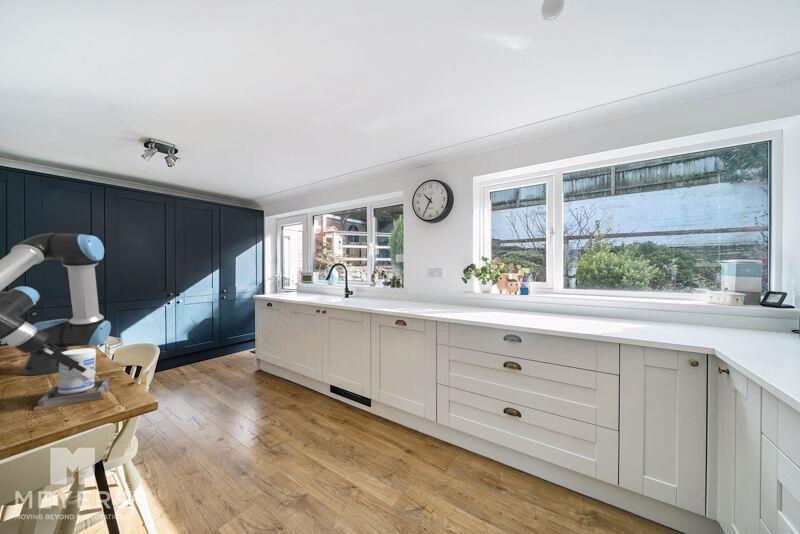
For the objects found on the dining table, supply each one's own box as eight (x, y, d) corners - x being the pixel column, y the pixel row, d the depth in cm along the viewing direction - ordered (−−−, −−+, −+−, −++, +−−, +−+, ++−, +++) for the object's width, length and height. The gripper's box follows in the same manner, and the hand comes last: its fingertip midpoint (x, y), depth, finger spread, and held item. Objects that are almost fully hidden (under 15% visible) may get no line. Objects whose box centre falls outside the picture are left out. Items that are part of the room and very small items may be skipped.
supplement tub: (90, 392, 112) (92, 352, 112) (52, 397, 107) (54, 355, 107) (97, 383, 120) (99, 346, 120) (63, 387, 115) (65, 349, 115)
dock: (50, 393, 115) (51, 386, 115) (111, 384, 125) (111, 378, 125) (33, 410, 102) (33, 402, 102) (103, 399, 112) (103, 391, 112)
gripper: (9, 342, 107) (72, 374, 120) (17, 352, 95) (86, 387, 108) (33, 325, 112) (91, 358, 125) (44, 333, 99) (107, 369, 112)
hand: (89, 372), depth 116 cm, fingers closed on supplement tub, 10 cm apart
